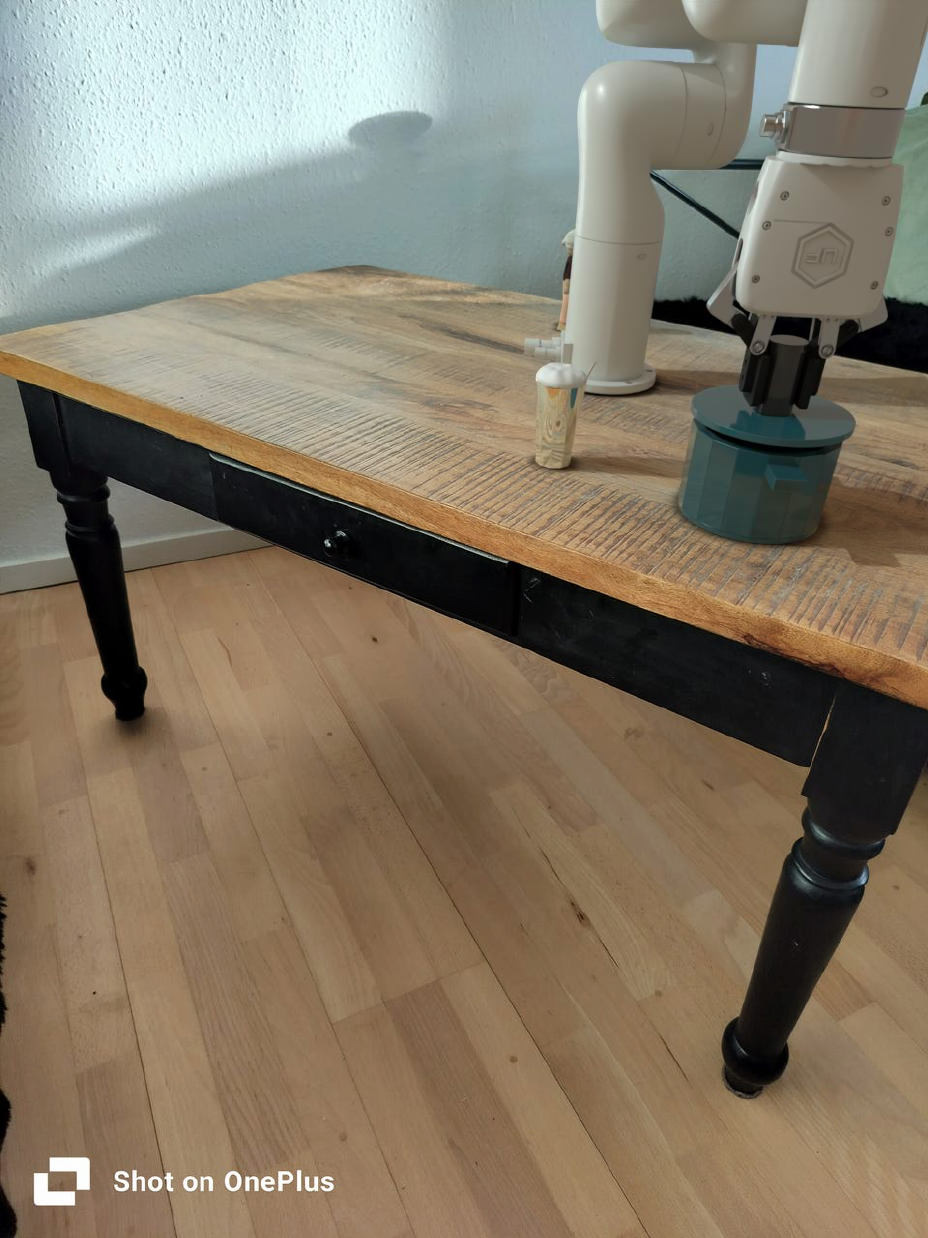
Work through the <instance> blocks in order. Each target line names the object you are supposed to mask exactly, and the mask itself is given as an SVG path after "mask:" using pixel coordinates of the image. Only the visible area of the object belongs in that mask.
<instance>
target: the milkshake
mask: <svg viewBox="0 0 928 1238" xmlns="http://www.w3.org/2000/svg"><path fill="white" fill-rule="evenodd" d="M595 364H596V362H595V363H594V364H593V366H592V368H591V370H590V371H589V373H588V375H587V376H586V374H585V373H584V372H583V371H582V370H581V369H580V368H578V367H576V366H574V365H573V364H563V363H550V362H549V363H546V364H545V365H543V366H542V367H540V368H539V369H538V370H537V372H536V374H535V462H536V464H538V465H539V466H540V467H543V468H547V469H555V470H556V469H559V470H560V469H564V468H567V467H570V464H571V460H572V455H573V450H574V446H575V445H574V444H575V438H576V433H577V428H578V423H579V418H580V413H581V409H582V405H583V401H584V397H585V393H586V392H585V387H586V382H587V378H588V377H589V375H590V373H591V371H592V369H593V368H594V366H595Z"/></svg>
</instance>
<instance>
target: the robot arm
mask: <svg viewBox="0 0 928 1238" xmlns="http://www.w3.org/2000/svg"><path fill="white" fill-rule="evenodd" d="M595 14H596V21H597V26H598V29H599V31H600V33H601V35H602V36H603V37H604V38H605V39H606V40H607V41H609V42H611V43H613V44H616V45H619V46H620V45H621V46H626V47H632V48H633V47H634V48H645V49H646V48H647V49H668V50H669V49H671V50H684V51H685V50H688V51H691V53H692V56H693V62H684V61H683V62H682V61H673V60H657V59H656V60H653V59H651V60H650V59H623V60H616V61H613V62H612V61H611V62H608V63H606V64H604V65H602V66H600V67H597V69H595V70H594V71H593V72H592V73H591V74H590V75H589V76H588V77H587V79H586V80H585V81H584V83H583V85H582V88H581V90H580V94H579V97H578V103H577V110H576V111H577V112H576V113H577V115H576V117H577V118H576V120H577V121H576V122H577V124H576V125H577V126H576V127H577V144H578V145H577V146H578V192H577V193H578V194H577V205H576V206H577V208H576V218H575V228H574V229H575V239H574V249H573V259H572V269H571V279H570V289H569V298H568V308H567V318H566V328H565V330H561V331H560V336H552V337H551V339H541V338H535V337H525V338H524V339H525V340H524V351H523V355H524V356H534V360H538V361H539V360H541V361H542V360H543V361H546V360H551V361H550V362H549V363H563V364H573V365H574V366H576V367H578V368H580V369H581V370H582V371H583V372H584V373H585V374H586V376H587V375H588V373H589V371H590V370H591V368H592V366H593V364H594V363H595V362H596V364H595V366H594V368H593V369H592V371H591V373H590V375H589V377H588V378H587V382H586V387H585V392H584V393H589V394H599V395H629V394H636V393H640V392H643V391H646V390H648V389H650V388H652V387H653V386H654V385H655V382H656V378H657V372H656V370H655V369H654V367H652V366H651V365H649V364H648V363H646V362H645V361H646V353H647V347H648V340H649V333H650V328H651V327H650V326H651V321H652V314H653V307H654V301H655V294H656V287H657V281H658V274H659V268H660V264H661V263H660V261H661V256H662V249H663V242H664V236H665V229H666V213H665V208H664V204H663V201H662V199H661V197H660V195H659V193H658V190H657V189H656V187H655V185H654V183H653V181H652V178H651V172H654V171H711V170H717V169H721V168H723V167H726V166H728V165H729V164H730V163H732V162H733V161H734V160H735V159H736V157H737V156H738V155H739V153H740V152H741V150H742V149H743V146H744V144H745V142H746V140H747V139H746V138H747V135H748V133H749V126H750V123H751V117H752V109H753V102H754V101H753V100H754V91H755V80H756V79H755V77H756V65H757V55H758V53H757V52H758V45H761V46H762V45H763V46H764V45H765V46H768V45H769V46H782V47H783V46H786V47H788V48H797V51H796V56H795V59H794V64H793V69H792V75H791V80H790V84H789V91H788V94H787V99H786V103H783V105H782V109H780V111H779V112H774V114H765V113H764V114H763V115H762V117H761V120H760V123H759V130H758V131H759V132H758V135H759V137H760V138H769V140H773V142H774V143H775V144H774V147H775V148H776V152H775V155H766V156H765V159H764V161H763V163H762V166H761V168H760V170H759V174H758V175H757V179H756V182H755V185H754V187H753V189H752V192H751V196H750V199H749V202H748V204H747V205H748V206H747V208H746V212H745V216H744V217H743V218H744V219H743V221H742V226H741V229H740V232H739V236H738V239H737V244H736V247H735V251H734V255H733V259H732V263H731V269H730V270H729V271H728V273H727V274H726V276H725V277H724V278H723V280H722V281H721V282H720V283H719V285H718V286H717V288H716V289H715V290H714V292H713V294H712V295H711V296H710V298H709V299H708V301H707V302H706V309H707V310H708V312H709V313H710V314H711V315H712V316H714V317H715V318H716V319H718V320H720V321H721V322H722V323H723V324H725V325H727V326H729V327H730V328H731V329H733V330H734V331H735V333H736V334H737V335H738V337H739V338H740V339H741V341H742V342H743V343H744V345H745V346H746V348H745V351H744V356H743V360H742V361H743V362H742V366H741V370H740V375H739V379H738V385H739V390H740V392H743V396H744V398H745V399H746V401H747V403H748V404H749V406H750V407H757V406H758V405H760V404H761V400H762V396H763V392H764V387H765V383H766V379H767V374H768V370H769V366H770V361H771V357H770V356H769V355H768V354H767V351H768V347H769V346H768V342H769V339H770V336H772V332H773V330H774V326H775V323H776V320H777V318H778V317H788V318H789V317H790V318H791V317H792V318H809V319H811V324H810V325H811V326H810V331H809V337H808V341H809V347H808V351H807V355H806V359H805V363H804V367H803V371H802V375H801V379H800V383H799V387H798V391H797V394H796V398H795V402H794V404H795V405H796V407H798V408H799V409H804V410H806V409H807V408H808V405H809V402H810V398H811V396H817V394H818V392H819V388H820V385H821V381H822V377H823V374H824V369H825V365H826V362H827V359H830V358H832V357H833V356H834V355H835V353H836V350H837V349H839V348H840V347H842V346H843V345H845V343H847V342H849V341H850V340H852V339H853V338H854V337H855V336H856V335H857V334H859V333H861V332H865V331H867V330H870V329H872V328H874V327H877V326H878V325H879V326H880V325H882V324H884V323H885V322H886V321H887V319H888V317H889V314H888V308H887V305H886V301H885V300H886V299H885V295H884V289H885V286H886V281H887V278H888V273H889V268H890V264H891V261H892V260H891V259H892V255H893V250H894V245H895V239H896V234H897V228H898V222H899V216H900V210H901V203H902V194H903V186H904V174H905V172H904V171H905V165H902V164H898V163H894V162H893V160H894V155H895V152H896V148H897V145H898V141H899V137H900V133H901V129H902V126H903V123H904V119H905V115H906V112H907V111H906V108H908V105H909V100H910V97H911V93H912V90H913V86H914V83H915V79H916V76H917V72H918V68H919V65H920V61H921V58H922V54H923V50H924V47H925V46H924V45H925V43H926V39H927V35H928V0H595ZM735 300H736V302H738V303H739V306H740V307H741V308H743V309H744V310H745V311H747V312H749V315H748V316H747V315H746V314H745V312H744V311H742V310H740V309H739V308H737V307H735V306H734V301H735Z"/></svg>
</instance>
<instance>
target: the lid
mask: <svg viewBox="0 0 928 1238" xmlns="http://www.w3.org/2000/svg"><path fill="white" fill-rule="evenodd" d="M768 346H769V347H768V351H767V354H768V355H769V356H770V357H771V361H770V366H769V370H768V374H767V379H766V383H765V387H764V392H763V396H762V400H761V404H760V405H758V406H757V407H750V406H749V404H748V403H747V401H746V399H745V398H744V396H743V392H740V390H739V384H726V385H718V386H713V387H712V386H711V387H708V388H706V389H702V390H700V391H698V392H697V393H695V394H694V395H693V396H692V398H691V403H690V412H691V414H692V416H693V418H694V417H695V418H696V419H697V420H698V421H699V422H701V423H702V424H704V425H706V426H707V427H709V428H711V429H713V430H715V431H718V432H720V433H723V434H725V435H728V436H731V437H735V438H738V439H742V440H746V441H750V442H755V443H760V444H766V445H774V446H783V447H821V446H828V445H833V444H837V443H840V442H843V443H844V442H845V441H847V440H848V439H850V438H852V436H853V434H854V433H855V431H856V426H857V421H856V418H855V417H854V415H853V414H852V413H851V412H850V411H849V410H848V409H846V408H844V407H843V406H842V405H840V404H838V403H835V402H833V401H831V400H829V399H826V398H825V397H821V396H818V395H815V396H811V398H810V402H809V405H808V408H807V409H806V410H804V409H799V408H798V407H796V405H795V404H794V402H795V398H796V394H797V391H798V387H799V383H800V379H801V375H802V371H803V367H804V363H805V359H806V355H807V351H808V347H809V340H807V339H805V338H803V337H800V336H795V335H791V334H790V335H789V334H774V335H771V336H770V339H769V342H768Z"/></svg>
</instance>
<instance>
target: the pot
mask: <svg viewBox="0 0 928 1238" xmlns="http://www.w3.org/2000/svg"><path fill="white" fill-rule="evenodd" d="M843 444H844V441H843V442H840V443H837V444H833V445H828V446H821V447H783V446H774V445H766V444H760V443H755V442H750V441H746V440H742V439H738V438H735V437H731V436H728V435H725V434H723V433H720V432H718V431H715V430H713V429H711V428H709V427H707V426H706V425H704V424H702V423H701V422H699V421H698V420H697V419H696V418H695V417H694V416H693V418H692V421H691V426H690V432H689V437H688V442H687V448H686V453H685V456H684V457H685V458H684V464H683V469H682V472H681V473H682V474H681V478H680V484H679V488H678V489H679V490H678V495H677V497H678V503H677V505H678V508H679V510H680V513H682V515H683V516H684V517H685V518H686V519H687V520H688V521H690V522H691V523H693V524H694V525H695V526H696V527H698V528H700V529H703V530H705V531H706V532H710V533H711V534H714V535H717V536H720V537H723V538H726V539H729V540H733V541H738V542H744V543H748V544H749V543H750V544H758V545H759V544H760V545H785V544H791V543H797V542H800V541H802V540H803V541H804V540H805V539H807V538H809V537H811V536H812V535H814V534H815V533H816V532H817V529H818V528H819V526H820V523H821V522H820V521H821V518H822V515H823V511H824V508H825V505H826V501H827V498H828V495H829V491H830V488H831V484H832V481H833V478H834V475H835V471H836V467H837V465H838V460H839V457H840V454H841V451H842V448H843Z"/></svg>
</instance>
